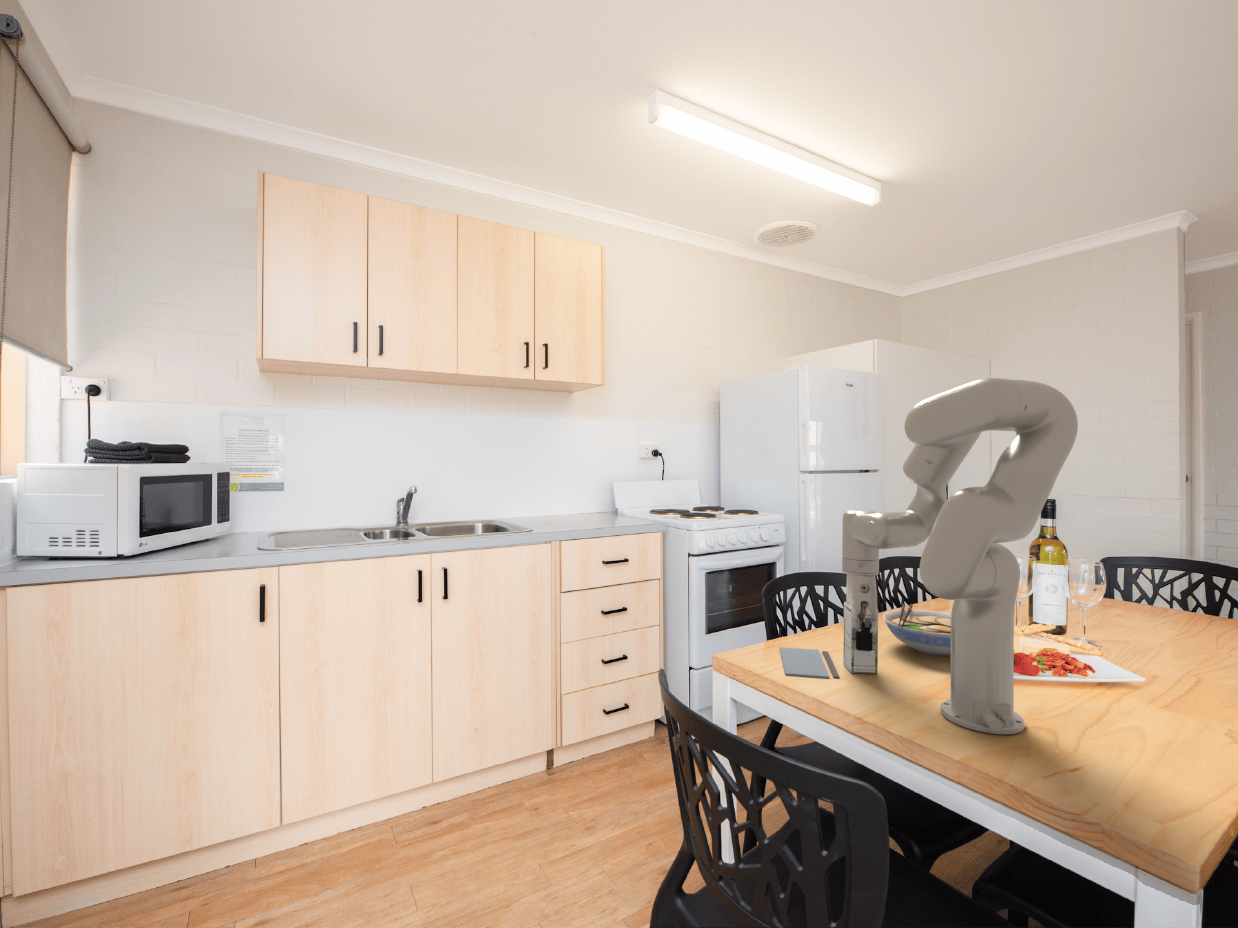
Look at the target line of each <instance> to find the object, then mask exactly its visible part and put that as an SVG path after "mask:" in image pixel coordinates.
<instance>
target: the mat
mask: <svg viewBox="0 0 1238 928" xmlns="http://www.w3.org/2000/svg"><path fill="white" fill-rule="evenodd" d="M779 651H780V656H781V661H782V665H783V666H782V667H783V671H784V675H785V676H791V677H792V676H793V677H805V678H806V677H807V678H820V679H830V675H829V672H828V670H827V668H826V664H825V663H824V660H823V658H822V656H821V653H820V651H819V649H810V648H799V647H797V648H796V647H782V646H779Z"/></svg>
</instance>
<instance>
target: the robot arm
mask: <svg viewBox="0 0 1238 928" xmlns="http://www.w3.org/2000/svg"><path fill="white" fill-rule="evenodd" d="M1078 426H1079V420H1078V416H1077V411H1076V410H1075V408H1074V406H1073V404H1072V402H1071V401H1070V400H1069V398H1068V397H1067V396H1066V395H1065V394H1063V393H1062V392H1061V391H1060V390H1059V389H1057V388H1055V387H1053V386H1051V385H1048V384H1045V383H1042V382H1039V381H1032V380H1024V379H1010V378H1009V379H1008V378H999V377H992V378H980V379H977V380H973V381H971V382H968V383H965V384H962V385H959V386H957V387H954V388H952V389H950V390H949V389H948V390H946V391H944V392H941V393H938V394H935V395H933V396H931V397H928V398H925V399H923V400H921V401H920V402H918V403H916V404H915V405H914V406H913V407H912V408H911V409H910V410H909V412H908V413H907V415H906V417H905V421H904V426H903V428H904V432H905V435H906V437H907V439H909V441H910V442H912V443H913V444H915V445H914V447H913V448H912V450H911V452H910V453H909V455H908V456H907V458H906V459H905V460H904V462H903V466H902V470H903V473H904V475H905V476H906V477H907V478H908V479H909V480H910V481H911V482H912V483H914V484H915V485H916V486H917V487H916V488H917V489H916V492H915V495H914V497H913V498H912V500H911V502H910V503H909V504H908V507H906V509H905V511H889V512H888V511H887V512H876V511H874V510H868V509H849V510H846V511H844V513H843V515H842V530H841V531H842V533H841V534H842V537H841V538H842V542H841V543H842V546H841V547H842V548H841V549H842V550H841V553H842V555H841V559H842V560H841V572H842V573H844V574H846V586H845V587H846V591H845V595H846V596H845V597H846V598H845V599H846V601H845V602H848V603H849V605H850V606H851V607H852V614H853V619H854V620H856V621H857V629H858V631H856V649H857V650H860V651H872V637H873V633H872V624H871V619H872V620H873V621H874V622H876V621H877V609H878V594H877V593H878V592H877V581H876V576H878V575H879V573H880V550H889V549H892V550H893V549H898V548H899V549H900V548H912V547H913V548H914V547H916V546H919V545H922V543H924V542H925V541H926V544H925V547H924V549H923V551H922V555H921V558H920V562H919V576H920V580H921V583H922V584H923V586H924V588H925V589H926V590H927V591H928V592H929V593H930V594H932V595H933V596H935V597H936V598H939V599H943V600H949V601H953V603H952V606H951V607H952V608H951V655H950V699H946V700H944V701H942V703H940V712H941V713H940V714H942V716H944V718H946V720H948V721H950V722H952V723H953V724H956V725H958V726H961V727H962V728H963V727H964V728H966V729H968V730H972V731H976V732H980V733H985V734H991V735H1015V734H1018V733H1021V732H1022V731H1024V729H1025V720H1024V718H1023V717H1022V716H1021V715H1020V714H1019V713H1018V712H1016V711H1014V704H1015V703H1014V691H1015V690H1014V689H1015V688H1014V685H1015V684H1014V683H1015V682H1014V680H1015V679H1014V675H1015V674H1014V669H1015V668H1014V667H1015V666H1014V661H1015V660H1014V659H1015V658H1014V657H1015V656H1014V655H1015V653H1014V651H1015V650H1014V649H1015V647H1014V643H1015V639H1014V637H1015V611H1016V601H1017V597H1018V593H1019V587H1020V581H1021V569H1020V564H1019V562H1018V559H1017V557H1016V556H1015V555H1014V553H1013V551H1011V550H1010V549H1009V548H1008V547H1006V546H1004V545H1002V543H1003V544H1004V543H1010V542H1016V541H1019V540H1020V541H1021V540H1022V539H1025V538H1026V537H1028V536H1029V535H1030V534H1031V532H1032V531H1033V529H1034V528H1035V525H1036V524H1037V521H1038V520H1039V517H1040V515H1041V514H1042V513H1041V512H1042V511H1043V509H1044V507H1045V504H1046V502H1047V500H1048V498H1049V496H1050V494H1051V491H1052V490H1053V487H1054V485H1055V483H1056V480H1057V479H1058V476H1059V474H1060V472H1061V470H1062V468H1063V466H1064V465H1065V462H1066V461H1067V459H1068V457H1069V455H1070V453H1071V452H1072V449H1073V447H1074V445H1075V441H1076V440H1077V435H1078V431H1079V429H1078ZM985 431H995V432H996V431H997V432H998V431H999V432H1002V431H1003V432H1015V433H1016V435H1015V437H1014V439H1013V440H1012V441H1011V442H1010V443H1009V445H1008V446H1007V447H1006V448H1005V449H1004V451H1003V452H1002V453H1001V454H1000V455H999V458H998V460H997V462H996V465H995V467H994V470H993V471H992V474H991V476H990V478H989V479H988V481H987V483H986V484H985V485H984V486H973V487H965V488H962V489H959V490H957V491H955V492H954V493H952V495H950V496H949V497H948V495H947V494H948V493H947V492H948V491H947V486H948V484H949V483H950V481H951V479H952V478H953V476H954V475H955V473H956V471H957V470H958V469H959V467H960V466H961V465H962V463H963V461H964V460H965V458H966V457H967V455H968V454H969V452H970V451H971V449H972V448H973V446H974V445H975V443H976V442H977V441H978V439H979V438H980V436H981V434H982V432H985ZM861 608H862V609H861ZM859 615H860V616H863V617H859ZM860 622H862V623H861V624H860Z"/></svg>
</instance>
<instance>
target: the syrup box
mask: <svg viewBox="0 0 1238 928" xmlns="http://www.w3.org/2000/svg"><path fill="white" fill-rule="evenodd" d="M861 609H862V608H861ZM859 617H863V616H860V615H859ZM861 623H862V622H860V624H861ZM871 624H872V633H873V637H872V651H860V650H857V649H856V631H858V629H857V621H856V620H854V619H853V614H852V607H851V606H850V605H849V603H848V602H846V601H844V602H843V665H844V666H845V668H847V670H848V671H849V672H850V673H851V674H873V675H874V674H876V675H877V674H878V669H879V668H878V663H879V661H878V660H879V658H878V653H879V652H878V651H879V650H878V649H879V609H878V608H877V621H876V622H874V621H873V620H872V619H871Z"/></svg>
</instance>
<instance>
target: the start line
mask: <svg viewBox="0 0 1238 928" xmlns="http://www.w3.org/2000/svg"><path fill="white" fill-rule="evenodd" d="M822 654H823V656H824V659H825V661H827V662H826V663H827V666H828V669H829V671H830V673H831V676H832V678H833V679H840V674H839V673H838V671H837V668H836V666H835V665H834V662H833V660H832V658H831V655H830V653H829V651H827V650H826V651H824V650H822Z"/></svg>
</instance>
